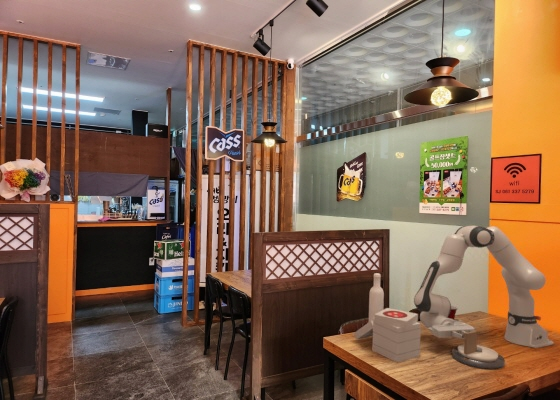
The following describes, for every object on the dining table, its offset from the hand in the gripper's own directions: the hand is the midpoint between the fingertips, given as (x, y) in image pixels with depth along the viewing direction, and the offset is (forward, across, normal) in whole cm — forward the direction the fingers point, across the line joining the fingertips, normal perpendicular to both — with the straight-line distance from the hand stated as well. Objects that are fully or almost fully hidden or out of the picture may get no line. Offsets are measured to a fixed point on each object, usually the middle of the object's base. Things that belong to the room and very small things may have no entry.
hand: (465, 336), depth 172 cm
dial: (+2, +5, +7) cm, 9 cm away
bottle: (-44, -21, +10) cm, 50 cm away
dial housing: (+2, +5, +10) cm, 11 cm away
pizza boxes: (-15, -30, +10) cm, 35 cm away
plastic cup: (-40, +21, +10) cm, 46 cm away
